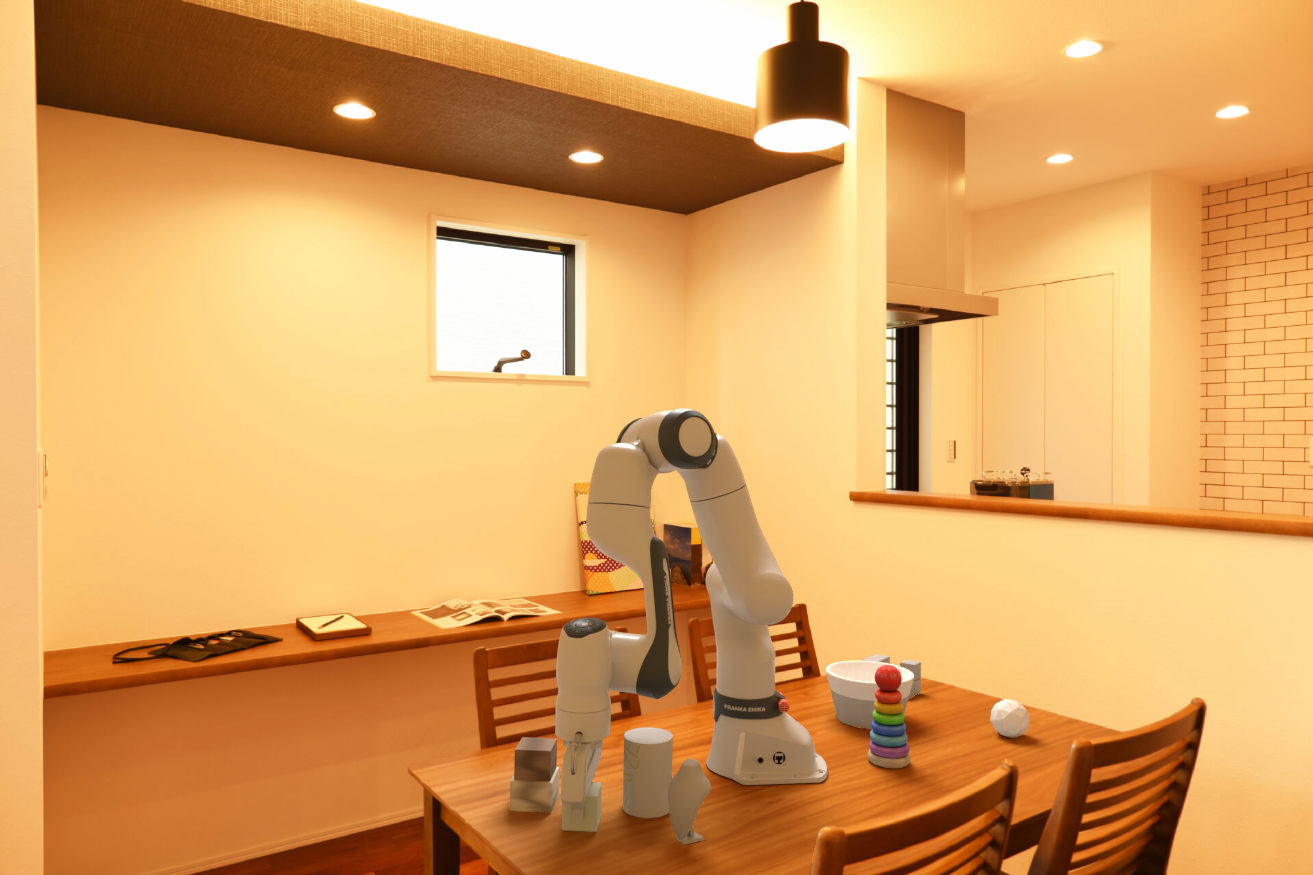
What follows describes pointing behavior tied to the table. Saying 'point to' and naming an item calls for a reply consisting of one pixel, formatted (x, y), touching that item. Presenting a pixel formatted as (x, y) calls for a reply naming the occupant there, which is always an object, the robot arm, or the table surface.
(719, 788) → the table surface
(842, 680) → the bowl
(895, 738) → the stacking toy
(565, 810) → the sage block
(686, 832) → the figurine
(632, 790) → the white cylinder
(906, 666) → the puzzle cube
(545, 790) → the maple base
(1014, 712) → the geometric ball
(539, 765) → the walnut mid
